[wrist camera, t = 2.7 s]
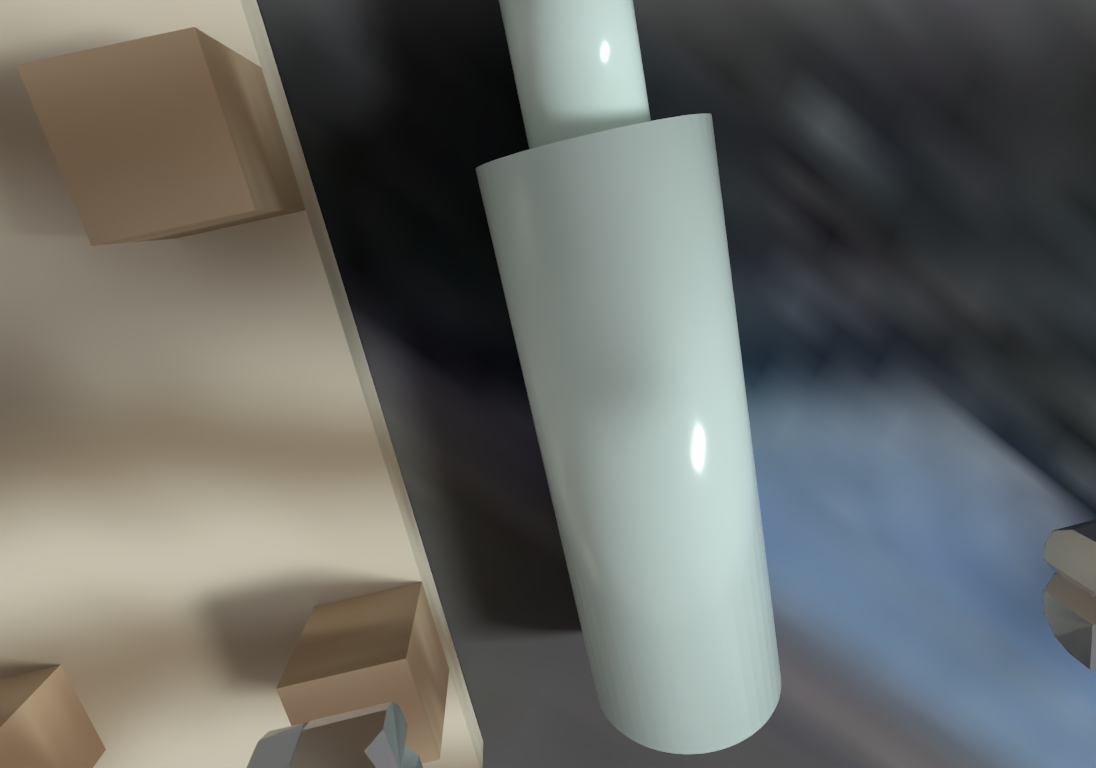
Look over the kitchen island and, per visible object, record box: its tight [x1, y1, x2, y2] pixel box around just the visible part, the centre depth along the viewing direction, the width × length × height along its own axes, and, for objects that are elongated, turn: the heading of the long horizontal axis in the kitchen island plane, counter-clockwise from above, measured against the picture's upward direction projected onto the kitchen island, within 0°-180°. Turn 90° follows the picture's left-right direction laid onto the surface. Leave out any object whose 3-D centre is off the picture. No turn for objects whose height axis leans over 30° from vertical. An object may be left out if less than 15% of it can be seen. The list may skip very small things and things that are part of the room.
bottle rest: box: [0, 0, 483, 768], centre depth 14 cm, size 24×13×4 cm, turn 12°
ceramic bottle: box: [476, 0, 781, 754], centre depth 14 cm, size 18×5×5 cm, turn 12°
